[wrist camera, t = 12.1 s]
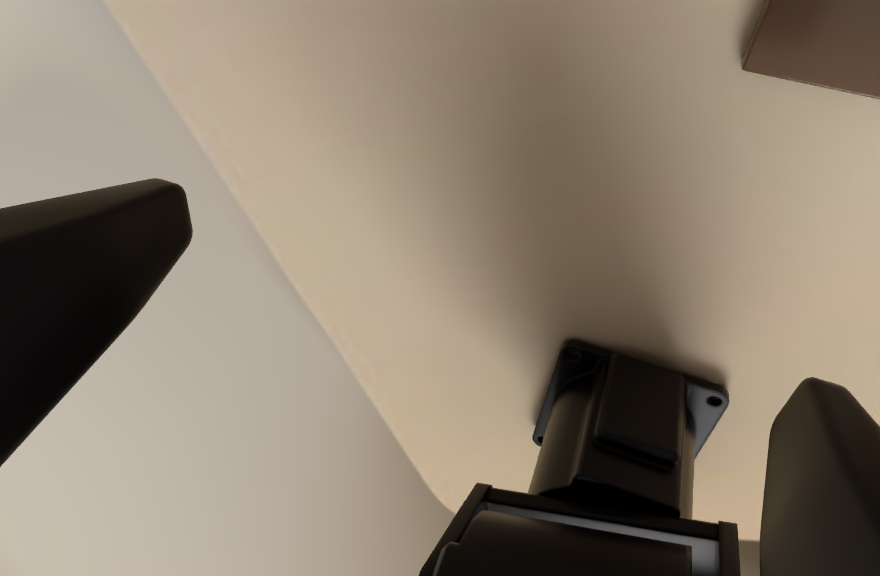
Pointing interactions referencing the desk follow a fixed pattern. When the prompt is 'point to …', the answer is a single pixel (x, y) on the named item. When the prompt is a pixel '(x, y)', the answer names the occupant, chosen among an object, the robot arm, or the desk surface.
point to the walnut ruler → (819, 44)
